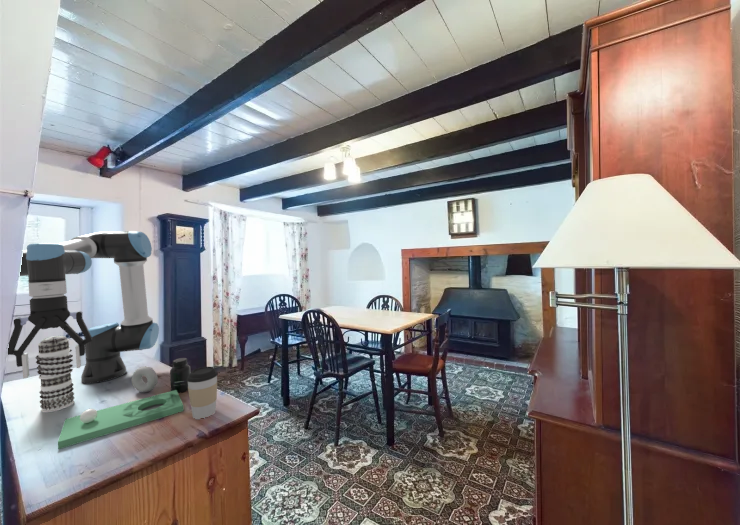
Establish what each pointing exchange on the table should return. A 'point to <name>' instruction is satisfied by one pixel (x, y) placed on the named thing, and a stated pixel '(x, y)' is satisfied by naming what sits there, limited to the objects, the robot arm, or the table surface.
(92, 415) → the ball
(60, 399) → the decorative candle
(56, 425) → the table surface
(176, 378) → the supplement bottle
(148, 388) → the donut
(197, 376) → the coffee cup
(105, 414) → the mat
